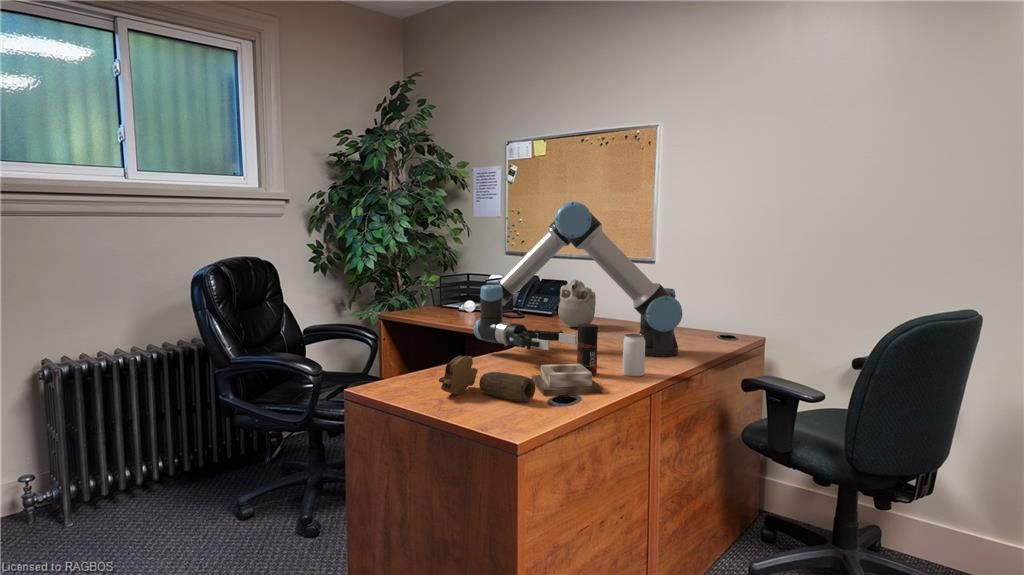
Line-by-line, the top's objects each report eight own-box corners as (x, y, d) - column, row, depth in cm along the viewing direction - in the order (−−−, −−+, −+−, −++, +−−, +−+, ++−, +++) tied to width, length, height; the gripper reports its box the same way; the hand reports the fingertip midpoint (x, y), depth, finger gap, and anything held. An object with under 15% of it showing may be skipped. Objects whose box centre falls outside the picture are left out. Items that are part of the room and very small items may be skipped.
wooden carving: (463, 384, 170) (463, 349, 169) (478, 386, 169) (478, 350, 168) (435, 399, 155) (435, 361, 154) (451, 401, 153) (451, 362, 152)
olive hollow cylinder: (538, 400, 156) (539, 374, 155) (523, 406, 150) (524, 380, 150) (491, 390, 164) (491, 366, 164) (475, 396, 159) (475, 371, 158)
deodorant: (585, 371, 187) (586, 323, 186) (600, 374, 183) (601, 325, 182) (572, 374, 183) (573, 325, 182) (588, 377, 179) (589, 327, 178)
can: (644, 377, 180) (645, 337, 179) (622, 376, 181) (623, 336, 180) (644, 372, 186) (645, 333, 185) (622, 371, 187) (623, 333, 186)
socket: (585, 378, 178) (585, 361, 177) (602, 393, 162) (602, 374, 162) (531, 380, 175) (531, 363, 175) (543, 395, 160) (543, 376, 159)
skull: (565, 324, 280) (566, 276, 278) (598, 326, 274) (599, 277, 272) (553, 330, 262) (553, 279, 259) (587, 332, 256) (588, 280, 254)
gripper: (536, 340, 212) (585, 349, 198) (485, 350, 194) (536, 360, 180) (536, 319, 211) (586, 326, 197) (485, 327, 193) (536, 335, 179)
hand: (562, 342), depth 188 cm, fingers open, 13 cm apart
